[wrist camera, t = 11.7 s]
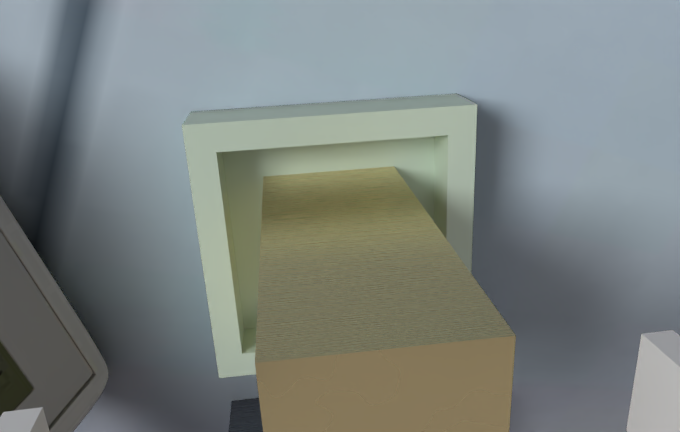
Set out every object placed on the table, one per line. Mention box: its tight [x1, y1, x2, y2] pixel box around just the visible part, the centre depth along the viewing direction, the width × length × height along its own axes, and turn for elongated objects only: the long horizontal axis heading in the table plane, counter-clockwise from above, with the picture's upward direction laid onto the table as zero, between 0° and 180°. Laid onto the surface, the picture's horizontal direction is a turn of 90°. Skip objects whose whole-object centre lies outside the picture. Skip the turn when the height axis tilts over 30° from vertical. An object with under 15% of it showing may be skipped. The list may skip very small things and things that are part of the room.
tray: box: [182, 94, 477, 378], centre depth 23 cm, size 10×10×2 cm
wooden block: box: [255, 166, 516, 432], centre depth 17 cm, size 5×5×12 cm
